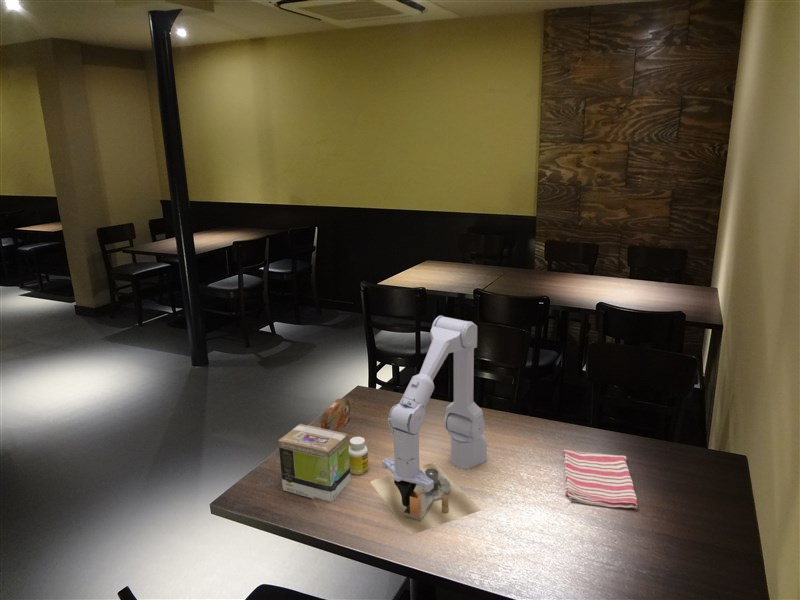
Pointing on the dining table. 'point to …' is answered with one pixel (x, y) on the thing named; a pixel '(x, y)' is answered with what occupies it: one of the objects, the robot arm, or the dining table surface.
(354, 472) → the supplement bottle
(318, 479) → the tea box
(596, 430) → the dining table surface
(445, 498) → the dowel
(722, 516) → the dining table surface
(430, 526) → the board
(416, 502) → the crank
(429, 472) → the post
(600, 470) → the dish towel
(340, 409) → the brown flat packet
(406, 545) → the dining table surface
